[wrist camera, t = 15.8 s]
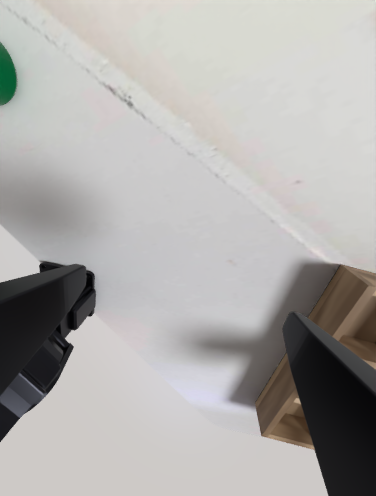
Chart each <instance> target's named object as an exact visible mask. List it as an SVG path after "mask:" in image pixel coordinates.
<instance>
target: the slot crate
mask: <svg viewBox="0 0 376 496" xmlns="http://www.w3.org/2000/svg"><path fill="white" fill-rule="evenodd" d="M308 319H310V320H311V321H312V322H314V323H315V324H316V325H317V326H319V327H320V328H321V329H323V330H324V331H325V332H327V333H328V334H329V335H331V336H332V337H333V338H335V339H336V340H337V341H339V342H340V343H341V344H343V345H344V346H345V347H347V348H348V349H349V350H351V351H352V352H353V353H355V354H356V355H357V356H358V357H360V358H361V359H362V360H364V361H365V362H366V363H368V364H369V365H370V366H372V367H373V368H374V369H376V274H375V273H371V272H367V271H364V270H360V269H356V268H352V267H349V266H345V265H340V267H339V268H338V270H337V271H336V273H335V275H334V276H333V278H332V280H331V281H330V283H329V284H328V286H327V288H326V289H325V291H324V293H323V294H322V296H321V297H320V299H319V301H318V302H317V304H316V305H315V307H314V309H313V310H312V312H311V314H310V315H309V317H308ZM255 405H256V411H257V416H258V421H259V426H260V431H261V436H263V437H267V438H271V439H275V440H279V441H283V442H286V443H290V444H294V445H298V446H302V447H306V448H310V449H313V450H315V449H314V446H313V443H312V439H311V436H310V433H309V429H308V426H307V423H306V419H305V416H304V413H303V409H302V406H301V403H300V400H299V396H298V393H297V390H296V386H295V383H294V380H293V376H292V373H291V369H290V366H289V361H288V356H287V352H286V354H285V356H284V357H283V359H282V360H281V362H280V364H279V365H278V367H277V369H276V370H275V372H274V373H273V375H272V377H271V378H270V380H269V381H268V383H267V385H266V386H265V388H264V390H263V391H262V393H261V394H260V396H259V398H258V399H257V401H256V403H255Z"/></svg>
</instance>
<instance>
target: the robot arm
mask: <svg viewBox="0 0 376 496" xmlns="http://www.w3.org/2000/svg"><path fill="white" fill-rule="evenodd" d="M39 267H40V273H37V274H33V275H29V276H25V277H21V278H17V279H13V280H9V281H5V282H1V283H0V442H1V440H2V439H3V438H4V437H5V436H6V434H7V433H8V432H9V430H10V429H11V428H12V427H13V426H14V425H15V424H16V422H17V421H18V420H19V419H20V418H21V417H22V415H23V414H25V413H26V412H28V411H30V410H31V409H32V408H33V407H35V406H36V405H37V404H38V403H39V402H40V401H41V400H42V399H43V398H44V397H45V396H46V395H47V394H48V393H49V392H50V390H51V389H52V388H53V386H54V385H55V384H56V382H57V380H58V379H59V377H60V375H61V373H62V371H63V368H64V366H65V364H66V362H67V360H68V358H69V356H70V354H71V352H72V350H73V345H72V344H71V343H68V342H67V341H66V340H65V337H66V336H67V335H68V334H69V333H70V332H71V330H76V329H78V328H79V326H80V325H81V324H82V322H83V321H84V320H85V319H86V317H87V316H92V315H93V314H94V308H95V299H96V291H95V289H94V279H95V276H94V274H93V273H92V272H89V271H86V267H85V266H83V265H79V264H73V265H69V266H62V265H57V264H53V263H48V262H43V263H41V264H40V265H39ZM89 276H91V277H89ZM283 336H284V341H285V346H286V351H287V356H288V361H289V366H290V369H291V373H292V376H293V380H294V383H295V386H296V390H297V393H298V396H299V400H300V403H301V406H302V409H303V413H304V416H305V419H306V423H307V426H308V429H309V433H310V436H311V439H312V443H313V446H314V449H315V453H316V456H317V459H318V462H319V466H320V469H321V472H322V476H323V479H324V482H325V486H326V489H327V492H328V496H376V369H374V368H373V367H372V366H370V365H369V364H368V363H366V362H365V361H364V360H362V359H361V358H360V357H358V356H357V355H356V354H355V353H353V352H352V351H351V350H349V349H348V348H347V347H345V346H344V345H343V344H341V343H340V342H339V341H337V340H336V339H335V338H333V337H332V336H331V335H329V334H328V333H327V332H325V331H324V330H323V329H321V328H320V327H319V326H317V325H316V324H315V323H314V322H312V321H311V320H310V319H308V318H307V317H306V316H304V315H303V314H301V313H297V312H290V313H289V315H288V317H287V319H286V321H285V323H284V325H283Z"/></svg>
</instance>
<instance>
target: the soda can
mask: <svg viewBox="0 0 376 496" xmlns="http://www.w3.org/2000/svg"><path fill="white" fill-rule="evenodd" d="M16 89H17V74H16V69H15V66H14V64H13V61H12V59H11V57H10V55H9V53H8V51H7V50H6V49H5V47H4V46H3V45H2V43H1V42H0V105H4V104H6V103H8V102H9V101H10V100H11V99H12V98H13V96H14V94H15V92H16Z"/></svg>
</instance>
